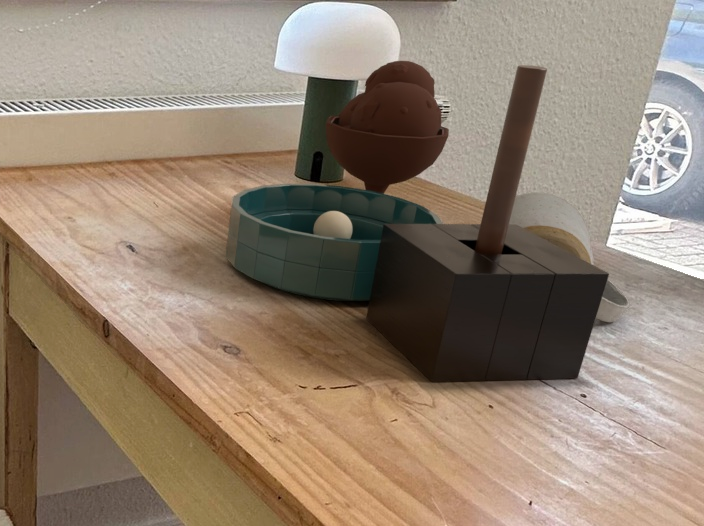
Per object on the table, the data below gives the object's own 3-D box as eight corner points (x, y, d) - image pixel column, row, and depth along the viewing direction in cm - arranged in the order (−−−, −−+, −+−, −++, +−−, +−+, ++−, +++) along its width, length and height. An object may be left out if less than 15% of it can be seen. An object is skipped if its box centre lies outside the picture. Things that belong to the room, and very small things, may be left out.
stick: (470, 341, 59) (537, 65, 52) (482, 351, 58) (553, 69, 51) (448, 341, 59) (512, 64, 52) (460, 352, 58) (527, 68, 50)
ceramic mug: (470, 312, 64) (497, 210, 61) (469, 277, 71) (493, 184, 68) (631, 341, 61) (668, 236, 58) (613, 301, 68) (645, 205, 65)
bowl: (377, 238, 80) (387, 184, 78) (468, 306, 65) (484, 242, 63) (204, 238, 78) (209, 182, 75) (259, 308, 63) (268, 242, 61)
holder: (493, 316, 64) (516, 224, 61) (578, 378, 55) (610, 273, 52) (365, 318, 62) (383, 223, 59) (431, 382, 53) (456, 274, 51)
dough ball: (340, 242, 76) (346, 206, 75) (355, 254, 73) (361, 217, 72) (305, 242, 76) (310, 206, 75) (318, 254, 73) (324, 217, 72)
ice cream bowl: (301, 206, 88) (323, 51, 82) (412, 213, 88) (443, 58, 82) (320, 239, 79) (348, 66, 73) (445, 246, 79) (483, 73, 72)
